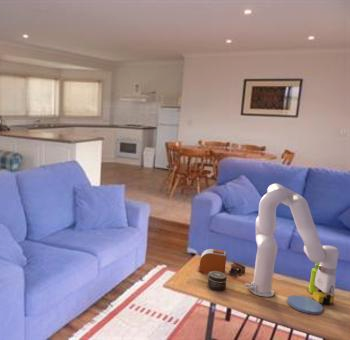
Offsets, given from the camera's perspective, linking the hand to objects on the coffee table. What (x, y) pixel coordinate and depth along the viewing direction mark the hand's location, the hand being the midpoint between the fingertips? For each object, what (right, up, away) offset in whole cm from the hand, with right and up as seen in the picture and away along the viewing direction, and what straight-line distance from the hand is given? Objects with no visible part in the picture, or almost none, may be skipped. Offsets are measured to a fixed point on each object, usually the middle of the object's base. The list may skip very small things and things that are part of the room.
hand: (322, 301), depth 197 cm
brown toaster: (-49, +7, +32) cm, 59 cm away
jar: (-53, +4, +11) cm, 54 cm away
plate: (-12, -1, -4) cm, 13 cm away
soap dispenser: (+2, +1, +10) cm, 10 cm away
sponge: (0, 0, 0) cm, 0 cm away
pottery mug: (-35, +6, +28) cm, 45 cm away
